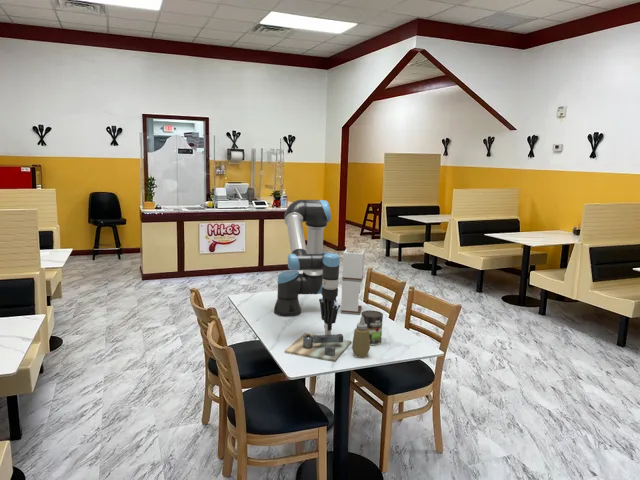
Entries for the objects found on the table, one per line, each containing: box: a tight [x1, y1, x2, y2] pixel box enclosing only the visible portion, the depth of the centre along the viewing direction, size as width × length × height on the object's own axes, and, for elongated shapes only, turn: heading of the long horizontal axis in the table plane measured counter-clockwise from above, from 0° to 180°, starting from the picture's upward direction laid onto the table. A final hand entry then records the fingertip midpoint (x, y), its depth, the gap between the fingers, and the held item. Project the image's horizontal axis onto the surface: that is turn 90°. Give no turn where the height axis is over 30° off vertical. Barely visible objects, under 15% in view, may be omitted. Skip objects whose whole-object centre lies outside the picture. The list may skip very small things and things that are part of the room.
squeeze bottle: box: [351, 315, 371, 358], centre depth 221 cm, size 8×8×18 cm
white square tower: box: [340, 248, 365, 316], centre depth 281 cm, size 11×11×35 cm
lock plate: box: [284, 332, 352, 363], centre depth 229 cm, size 24×24×7 cm
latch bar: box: [303, 333, 344, 348], centre depth 228 cm, size 18×4×5 cm, turn 101°
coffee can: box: [360, 310, 384, 346], centre depth 238 cm, size 10×10×14 cm
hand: (327, 336), depth 231 cm, fingers closed
